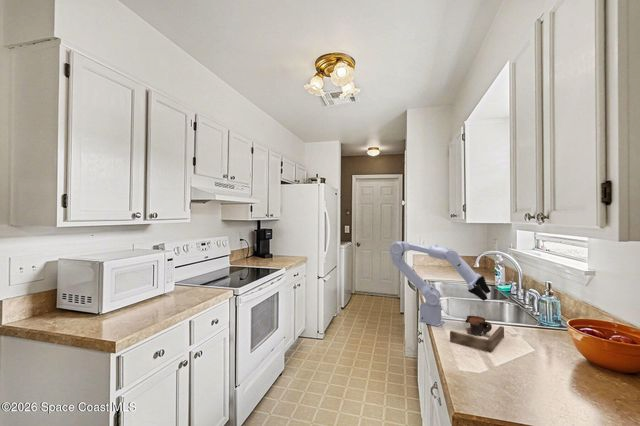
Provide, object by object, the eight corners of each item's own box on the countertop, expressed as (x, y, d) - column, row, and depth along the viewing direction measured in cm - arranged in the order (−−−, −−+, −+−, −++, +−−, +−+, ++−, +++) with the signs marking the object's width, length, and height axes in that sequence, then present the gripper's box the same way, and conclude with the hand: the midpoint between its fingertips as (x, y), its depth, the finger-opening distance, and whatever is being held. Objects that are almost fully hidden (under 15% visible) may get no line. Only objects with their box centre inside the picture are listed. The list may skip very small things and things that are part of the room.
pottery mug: (459, 333, 131) (460, 314, 135) (473, 339, 135) (473, 320, 139) (486, 334, 122) (486, 314, 125) (499, 341, 125) (499, 321, 129)
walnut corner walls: (450, 341, 121) (449, 331, 121) (466, 327, 136) (466, 319, 136) (491, 352, 111) (490, 341, 111) (504, 336, 126) (503, 326, 126)
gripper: (468, 272, 130) (491, 298, 126) (476, 261, 141) (497, 285, 137) (456, 280, 134) (478, 305, 130) (464, 269, 145) (484, 292, 141)
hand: (487, 296), depth 134 cm, fingers open, 7 cm apart
